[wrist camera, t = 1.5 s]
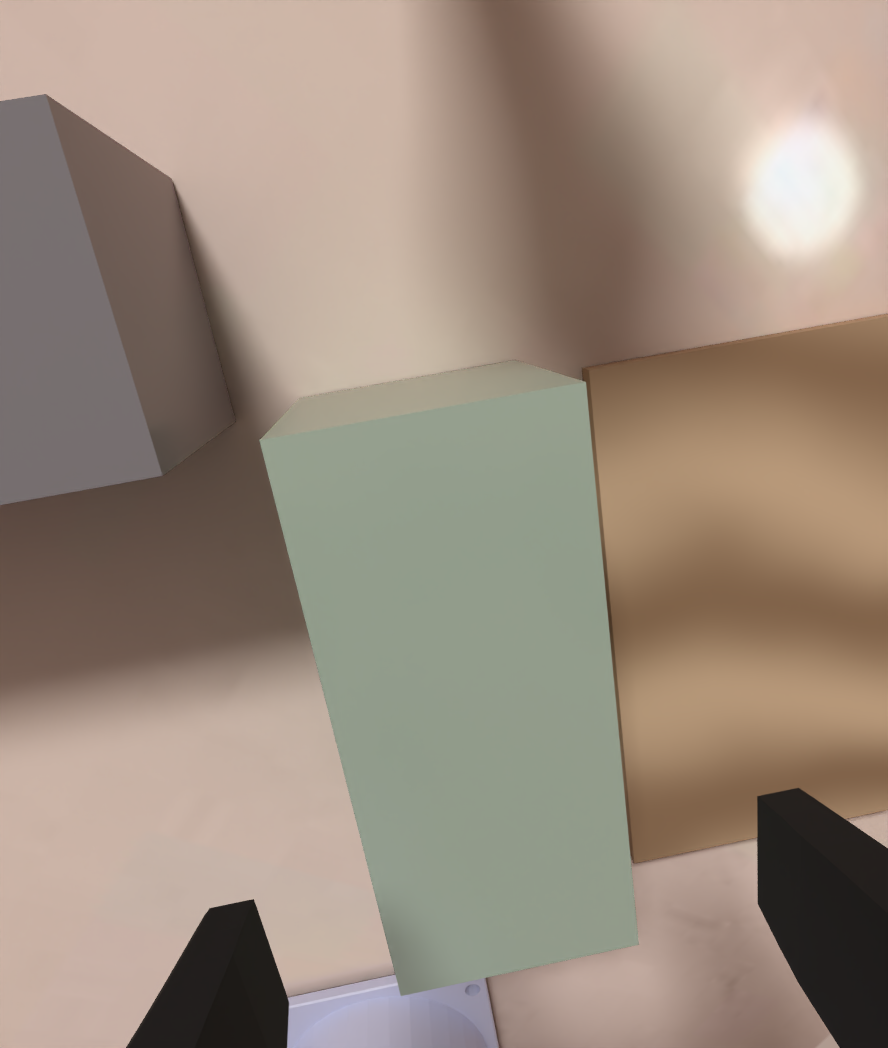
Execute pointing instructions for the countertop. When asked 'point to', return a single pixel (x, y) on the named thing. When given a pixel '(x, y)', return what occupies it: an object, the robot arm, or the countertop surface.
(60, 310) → the gray block
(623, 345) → the countertop surface
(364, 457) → the sage cover
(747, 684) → the cork trivet
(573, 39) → the countertop surface
